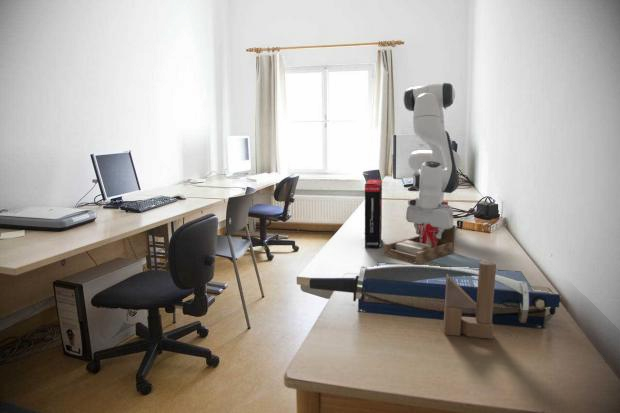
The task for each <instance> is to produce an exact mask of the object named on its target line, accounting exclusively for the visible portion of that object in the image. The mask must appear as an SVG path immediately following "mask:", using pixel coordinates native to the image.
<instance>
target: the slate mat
mask: <svg viewBox="0 0 620 413" xmlns="http://www.w3.org/2000/svg"><path fill="white" fill-rule="evenodd" d="M481 261H484V260H482V259H479V258H474V257H471V256H466V255H463V254H458V253H455V252H452V253H449V254H446V255H443V256H440V257H437V258H434V259H432V260H431V261H430V264H433V263H434V264H433V265H436V264H438V265H437V266H441V267H444V266H446V267H445V268H447V267H469V268H479V263H480V262H481Z"/></svg>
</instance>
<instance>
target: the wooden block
mask: <svg viewBox="0 0 620 413" xmlns="http://www.w3.org/2000/svg"><path fill="white" fill-rule="evenodd" d="M496 275H497V263H495V262H494V261H490V260H483V261H481V262H480V263H479V269H478V279H477V283H478V284H477V293H476V302H475V301H474V299H472V298H471V296H470V295H469V294H467V292H466V291H465V290H464V289H463V288H462V287H461V286H460V285H459V284H458V283H457V282H456V281H455V280H454V279H453V278H452V277H451V276H450V275H449V274H448V273H446V274H445V276H446V278H445V293H444V294H445V295H444V296H445V298H444V301H445V302H444V310H443V311H444V312H443V331H444V332H443V333H444V335H446V336H455V337H456V336H457V337H460V336H461V334H462V335H464V336H466V337H469V338H479V339H480V338H481V339H491V340H492V339H493V337H494V328H495V327H494V326H495V325H494V323H493V313H494V300H495V299H494V298H495V287H496ZM463 309H472V310H473V309H474V310H475V317H473V316H463V315H462V313H463Z"/></svg>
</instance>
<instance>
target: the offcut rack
mask: <svg viewBox="0 0 620 413" xmlns="http://www.w3.org/2000/svg"><path fill="white" fill-rule="evenodd" d="M420 227H421V224H420ZM438 233H439V230H438ZM455 238H456V228H455V225H453V227H452V228H451V229H444V232H443V233H442V234H441V239H438V244H437V246H436V247H433V248H430V249H426V250H423V251H420V252H416V255H412V254H408V253H404V252H401V251H397V250H396V243H400V242H403V241H406V240H409V241H414V242H419V243H420V234H418V235H416V236H411V237H409V238H405V239H401V240H397V241H396V240H395V241H392V242H389V243H385V244H384V250H383V251H384V253H383V254H384V255H386V256H389V257H393V258H396V259H399V260H403V261H406V260H407V261H406V262H410V261H411V262H410V263H413V262H416V263H415V264H417V263H419V264H422V263H424V261H425V262H428V261H430V260H431V261H432V260H435V259H438V258H441V257H444V256H447V255H450V254H453V253H455V240H456V239H455ZM421 262H422V263H421Z"/></svg>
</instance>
